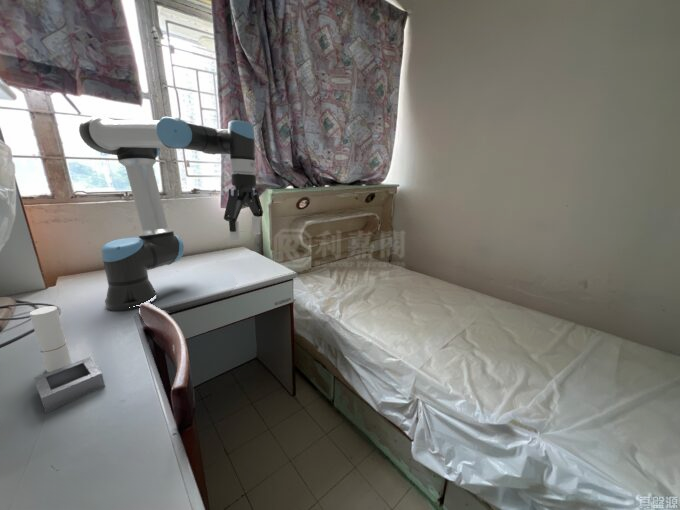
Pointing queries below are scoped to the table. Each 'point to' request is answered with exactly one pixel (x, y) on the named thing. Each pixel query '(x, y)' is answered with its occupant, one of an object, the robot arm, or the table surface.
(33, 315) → the tube
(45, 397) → the gray square frame
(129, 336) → the table surface
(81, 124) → the robot arm
